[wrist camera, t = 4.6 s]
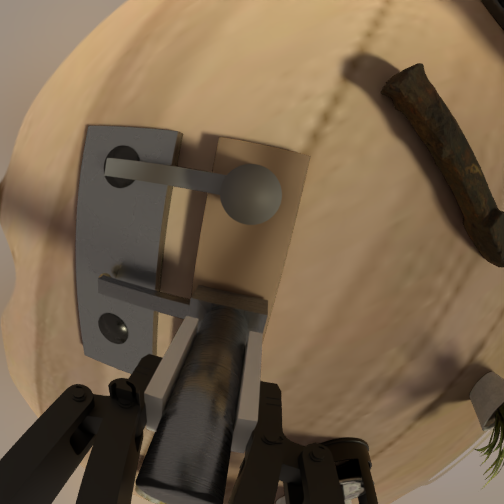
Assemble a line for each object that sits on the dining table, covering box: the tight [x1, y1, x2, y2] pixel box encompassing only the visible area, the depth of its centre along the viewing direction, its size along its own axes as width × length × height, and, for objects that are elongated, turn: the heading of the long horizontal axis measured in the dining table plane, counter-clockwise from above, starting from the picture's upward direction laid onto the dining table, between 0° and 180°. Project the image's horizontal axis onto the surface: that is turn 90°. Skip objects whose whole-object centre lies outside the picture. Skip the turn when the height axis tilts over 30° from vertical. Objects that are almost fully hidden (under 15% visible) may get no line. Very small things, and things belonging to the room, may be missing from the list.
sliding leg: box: [98, 273, 268, 504], centre depth 13 cm, size 13×3×14 cm, turn 78°
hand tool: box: [381, 63, 504, 267], centre depth 15 cm, size 19×4×5 cm, turn 39°
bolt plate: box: [76, 126, 183, 374], centre depth 20 cm, size 8×22×1 cm, turn 168°
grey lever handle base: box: [104, 137, 310, 343], centre depth 18 cm, size 14×22×6 cm, turn 168°
